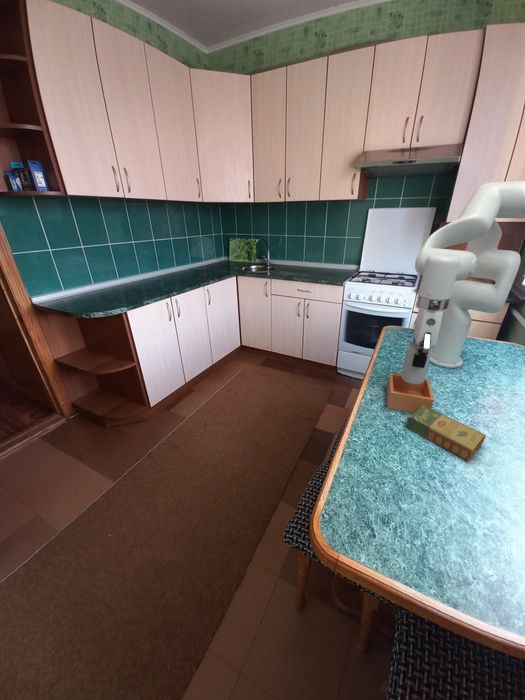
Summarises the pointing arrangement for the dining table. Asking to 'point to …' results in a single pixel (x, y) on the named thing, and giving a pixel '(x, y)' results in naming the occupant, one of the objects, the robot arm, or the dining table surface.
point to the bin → (408, 394)
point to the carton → (446, 432)
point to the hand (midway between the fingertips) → (416, 360)
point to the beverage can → (414, 373)
